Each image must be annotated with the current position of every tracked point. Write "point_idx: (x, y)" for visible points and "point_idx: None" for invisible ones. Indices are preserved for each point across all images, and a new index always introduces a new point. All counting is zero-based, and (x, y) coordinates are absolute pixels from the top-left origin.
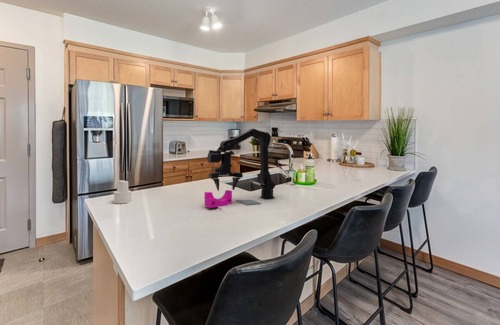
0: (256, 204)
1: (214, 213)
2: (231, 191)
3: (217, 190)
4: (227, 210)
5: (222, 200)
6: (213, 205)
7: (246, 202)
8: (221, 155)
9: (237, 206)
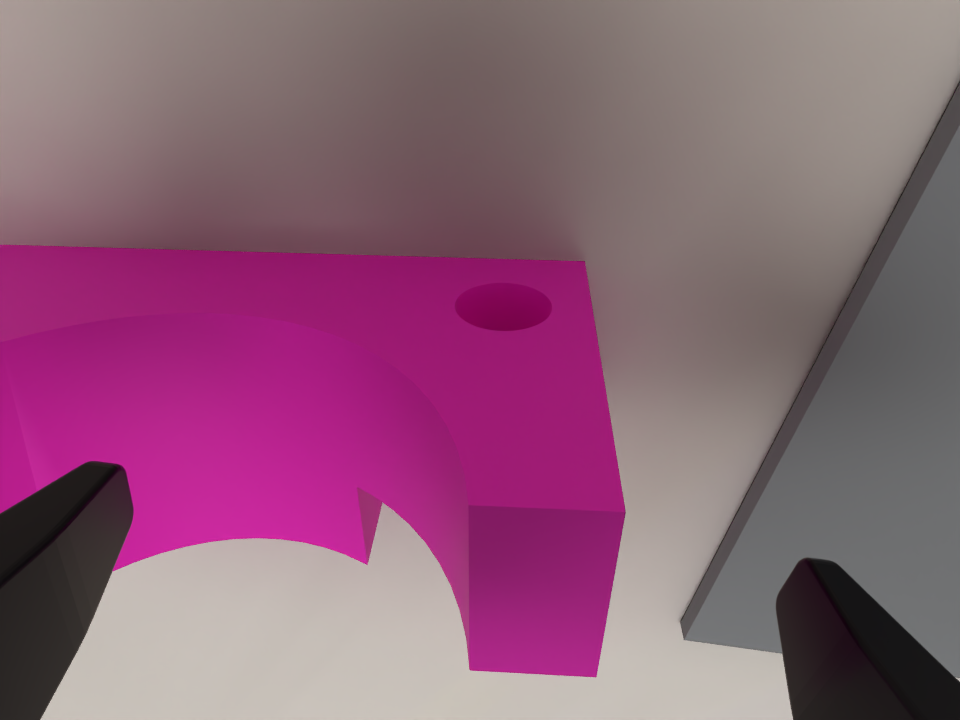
0: None
1: None
2: (577, 655)
3: (89, 465)
4: (237, 681)
5: (276, 501)
6: None
7: (825, 544)
8: None
9: None
